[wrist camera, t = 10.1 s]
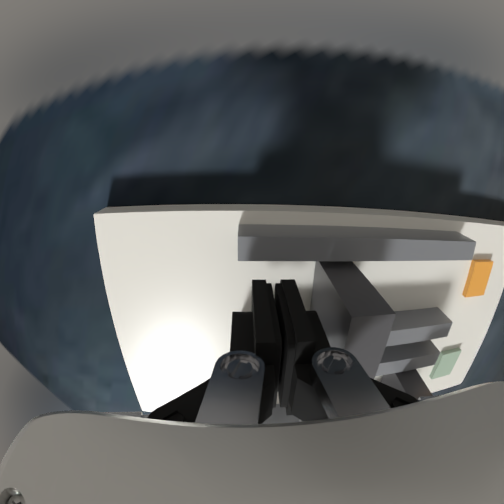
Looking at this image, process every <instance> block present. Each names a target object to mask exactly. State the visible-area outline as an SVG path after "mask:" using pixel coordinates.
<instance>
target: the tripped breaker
mask: <svg viewBox="0 0 504 504" xmlns="http://www.w3.org/2000/svg"><path fill="white" fill-rule="evenodd" d="M313 310H315V311H316V312H317V314H318V316H319V319H320V321H321V324H322V326H323V329H324V331H325V334H326V336H327V339H328V341H329V344H330V346H331V347H335V348H341V349H344V350H347V351H349V352H350V353H352V354H353V355H354V356H355V357H356V359H357V360H358V362H359V363H360V364H361V366H362V367H363V369H364V370H365V372H366V373H367V374H368V376H369V377H370V378H372V379H374V378H375V376H376V373H377V370H378V367H379V365H380V362H381V359H382V356H383V353H384V350H385V347H386V344H387V341H388V338H389V335H390V332H391V329H392V325H393V322H394V319H395V315H396V313H395V312H394V311H393V309H392V308H391V307H390V306H389V305H388V303H387V302H386V301H385V300H384V298H383V297H382V296H381V295H380V293H379V292H378V291H377V290H376V289H375V287H374V286H373V285H372V284H371V283H370V281H369V280H368V279H367V278H366V277H365V276H364V274H363V273H362V272H361V271H360V270H359V269H358V267H357V266H356V265H355V264H354V263H353V262H352V261H315V270H314V280H313V288H312V296H311V304H310V311H313Z"/></svg>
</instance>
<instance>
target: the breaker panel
mask: <svg viewBox="0 0 504 504" xmlns="http://www.w3.org/2000/svg"><path fill="white" fill-rule="evenodd" d="M94 222H95V230H96V237H97V244H98V250H99V256H100V262H101V268H102V273H103V278H104V283H105V288H106V292H107V297H108V301H109V306H110V310H111V314H112V318H113V322H114V326H115V329H116V333H117V337H118V340H119V344H120V347H121V350H122V354H123V357H124V360H125V363H126V366H127V369H128V372H129V375H130V378H131V381H132V384H133V387H134V390H135V392H136V395H137V398H138V400H139V403H140V406H141V408H142V411H148V412H152V411H154V410H155V409H157V408H158V407H160V406H162V405H164V404H166V403H168V402H169V401H171V400H173V399H175V398H177V397H178V396H180V395H182V394H184V393H186V392H187V391H189V390H191V389H193V388H194V387H196V386H198V385H199V384H201V383H203V382H205V381H206V380H208V379H210V377H211V374H212V372H213V369H214V366H215V363H216V361H217V360H218V358H219V357H221V356H222V355H223V354H225V353H228V352H230V341H231V325H232V312H251V307H252V280H266V283H271V284H272V289H273V294H274V293H275V283H280V280H281V279H295V282H296V284H297V287H298V290H299V293H300V295H301V298H302V301H303V304H304V307H305V310H306V311H310V304H311V296H312V288H313V280H314V270H315V261H352V262H353V263H354V264H355V265H356V266H357V267H358V269H359V270H360V271H361V272H362V273H363V274H364V276H365V277H366V278H367V279H368V280H369V281H370V283H371V284H372V285H373V286H374V287H375V289H376V290H377V291H378V292H379V293H380V295H381V296H382V297H383V298H384V300H385V301H386V302H387V303H388V305H389V306H390V307H391V308H392V309H393V311H394V312H395V313H396V315H395V319H394V322H393V325H392V329H391V332H390V335H389V338H388V341H387V344H386V347H385V350H384V353H383V356H382V359H381V362H380V365H379V367H378V370H377V373H376V376H375V378H374V380H377V381H379V382H380V381H381V379H382V376H383V375H387V374H393V373H398V372H403V371H408V370H413V369H416V370H417V371H418V373H419V375H420V376H421V378H422V379H423V381H424V382H425V384H426V386H427V387H428V389H429V390H430V392H431V393H432V392H436V391H439V390H442V389H446V388H449V387H452V386H455V385H458V384H461V383H462V381H463V379H464V377H465V375H466V374H467V372H468V370H469V368H470V366H471V364H472V362H473V360H474V358H475V356H476V354H477V352H478V350H479V348H480V346H481V344H482V341H483V339H484V337H485V335H486V333H487V330H488V328H489V325H490V323H491V321H492V318H493V316H494V313H495V310H496V308H497V305H498V302H499V299H500V297H501V294H502V291H503V288H504V221H496V220H489V219H481V218H472V217H464V216H454V215H445V214H434V213H424V212H412V211H399V210H386V209H371V208H353V207H333V206H308V205H271V204H184V205H147V206H122V207H106V208H104V209H102V210H100V211H98V212H96V213H95V214H94ZM299 420H300V419H298V418H297V417H295V416H293V415H286V408H285V407H280V404H279V396H278V393H277V402H276V408H273V410H272V415H271V416H270V417H269V418H268V419H267V420H265V421H264V422H263V423H262V424H275V423H292V422H299Z"/></svg>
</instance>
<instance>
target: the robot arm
mask: <svg viewBox="0 0 504 504" xmlns="http://www.w3.org/2000/svg"><path fill="white" fill-rule="evenodd" d="M277 393H278V396H279V404H280V407H285V408H286V415H293V416H295V417H297V418H298V419H300V420H299V422H292V423H275V424H262V423H263V422H264V421H265V420H267V419H268V418H269V417H270V416H271V415H272V410H273V408H276V402H277ZM0 504H504V382H500V381H498V382H489V383H484V384H480V385H475V386H471V387H468V388H465V389H462V390H458V391H455V392H451V393H448V394H445V395H438V396H421V397H419V399H418V400H417V399H416V398H415V397H413V396H411V395H410V394H407V393H405V392H402V391H400V390H398V389H395V388H393V387H390V386H388V385H386V384H383V383H381V382H379V381H377V380H374V379H372V378H370V377H369V376H368V374H367V373H366V372H365V370H364V369H363V367H362V366H361V364H360V363H359V362H358V360H357V359H356V357H355V356H354V355H353V354H352V353H350V352H349V351H347V350H344V349H341V348H335V347H331V346H330V344H329V341H328V339H327V336H326V334H325V331H324V329H323V326H322V324H321V321H320V319H319V316H318V314H317V312H316V311H315V310H313V311H306V310H305V307H304V304H303V301H302V298H301V295H300V293H299V290H298V287H297V284H296V282H295V279H281V280H280V283H275V293H274V294H273V289H272V284H271V283H266V280H252V307H251V312H232V325H231V341H230V352H228V353H225V354H223V355H222V356H221V357H219V358H218V360H217V361H216V363H215V366H214V369H213V372H212V374H211V377H210V379H208V380H206V381H205V382H203V383H201V384H199V385H198V386H196V387H194V388H193V389H191V390H189V391H187V392H186V393H184V394H182V395H180V396H178V397H177V398H175V399H173V400H171V401H169V402H168V403H166V404H164V405H162V406H160V407H158V408H157V409H155V410H154V411H152V412H151V413H150V415H143V414H142V412H94V411H72V410H71V411H57V412H50V413H46V414H42V415H39V416H37V417H35V418H33V419H32V420H31V421H29V422H28V423H27V424H26V425H25V426H24V427H23V429H22V430H21V431H20V433H19V434H18V435H17V437H16V438H15V439H14V441H13V442H12V444H11V446H10V447H9V449H8V451H7V452H6V454H5V456H4V458H3V460H2V462H1V464H0Z"/></svg>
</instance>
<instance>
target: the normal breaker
mask: <svg viewBox="0 0 504 504" xmlns="http://www.w3.org/2000/svg"><path fill="white" fill-rule="evenodd" d="M380 382H381V383H383V384H386V385H388V386H390V387H393V388H395V389H398V390H400V391H402V392H405V393H407V394H410V395H411V396H413V397H415V398H416V399H417V400H418V399H419V397H421V396H433V395H432V394H431V392H430V390H429V389H428V387H427V386H426V384H425V382H424V381H423V379H422V378H421V376H420V375H419V373H418V371H417V370H416V369H413V370H408V371H403V372H398V373H393V374H387V375H383V376H382V379H381V381H380Z"/></svg>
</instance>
